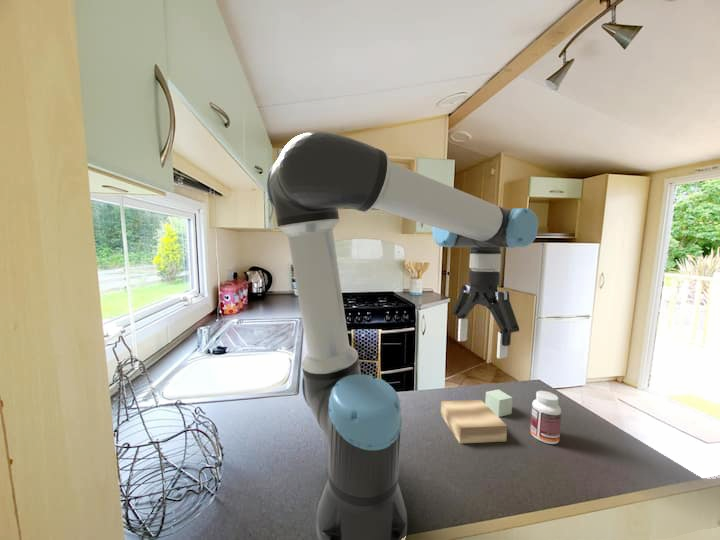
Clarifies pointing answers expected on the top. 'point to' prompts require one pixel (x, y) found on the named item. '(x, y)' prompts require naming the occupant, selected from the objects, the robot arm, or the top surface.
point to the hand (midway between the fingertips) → (480, 348)
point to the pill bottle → (546, 417)
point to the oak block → (473, 421)
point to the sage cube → (499, 402)
